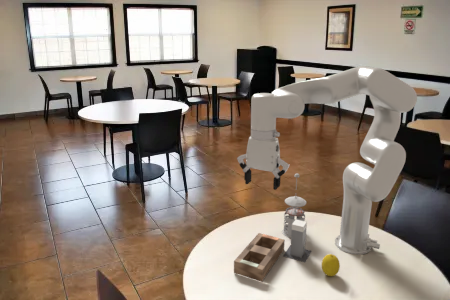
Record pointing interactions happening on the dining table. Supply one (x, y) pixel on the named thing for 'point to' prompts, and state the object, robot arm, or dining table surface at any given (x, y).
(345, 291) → the dining table surface
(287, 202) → the french press
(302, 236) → the plug
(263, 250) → the socket block
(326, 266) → the lemon
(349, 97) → the robot arm
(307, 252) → the mat
